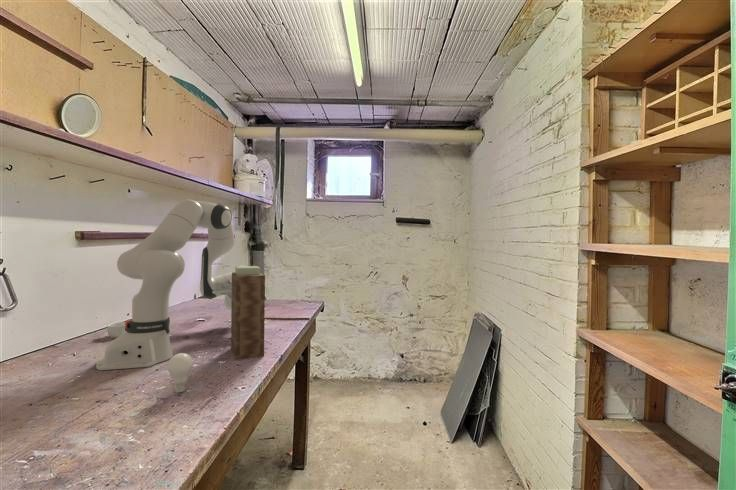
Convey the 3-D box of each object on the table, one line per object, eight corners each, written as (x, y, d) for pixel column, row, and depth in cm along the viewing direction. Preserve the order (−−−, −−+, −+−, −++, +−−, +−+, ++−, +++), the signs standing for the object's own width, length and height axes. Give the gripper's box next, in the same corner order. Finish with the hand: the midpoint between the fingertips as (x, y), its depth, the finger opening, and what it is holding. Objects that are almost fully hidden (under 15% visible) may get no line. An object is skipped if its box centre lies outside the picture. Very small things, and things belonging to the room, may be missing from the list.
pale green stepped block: (237, 275, 129) (237, 268, 129) (231, 270, 146) (232, 264, 146) (260, 274, 132) (260, 267, 132) (252, 269, 149) (252, 263, 149)
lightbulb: (185, 397, 96) (185, 357, 96) (162, 397, 96) (162, 357, 96) (197, 387, 102) (197, 350, 102) (175, 387, 102) (175, 349, 102)
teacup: (128, 337, 151) (128, 325, 150) (106, 340, 146) (106, 327, 146) (129, 332, 159) (129, 320, 159) (108, 334, 155) (108, 322, 154)
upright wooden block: (235, 360, 125) (236, 276, 125) (231, 348, 138) (231, 272, 137) (264, 356, 130) (264, 275, 129) (257, 345, 142) (258, 271, 142)
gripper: (211, 287, 161) (213, 274, 150) (257, 285, 170) (262, 273, 159) (212, 300, 158) (214, 288, 147) (258, 297, 167) (263, 286, 157)
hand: (239, 280), depth 153 cm, fingers open, 8 cm apart
